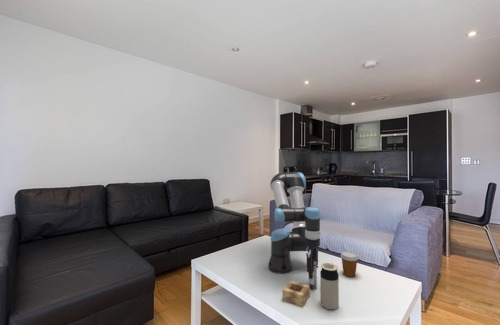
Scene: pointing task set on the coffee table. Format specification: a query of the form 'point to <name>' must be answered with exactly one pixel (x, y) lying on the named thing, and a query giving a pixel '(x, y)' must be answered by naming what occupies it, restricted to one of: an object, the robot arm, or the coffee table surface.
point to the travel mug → (329, 286)
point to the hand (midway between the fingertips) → (312, 281)
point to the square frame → (296, 293)
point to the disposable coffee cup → (349, 263)
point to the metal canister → (314, 287)
